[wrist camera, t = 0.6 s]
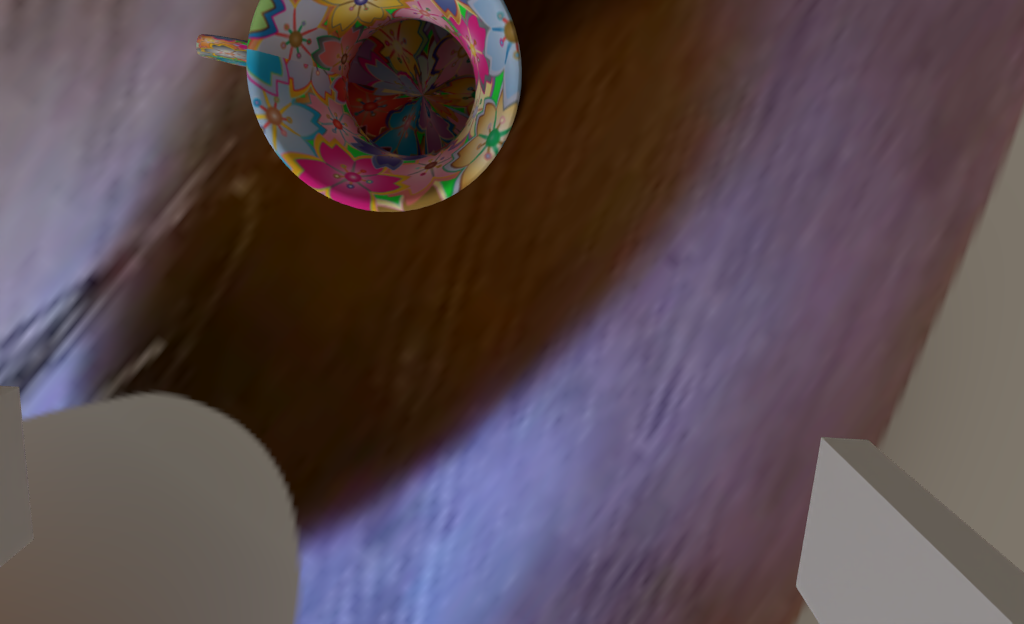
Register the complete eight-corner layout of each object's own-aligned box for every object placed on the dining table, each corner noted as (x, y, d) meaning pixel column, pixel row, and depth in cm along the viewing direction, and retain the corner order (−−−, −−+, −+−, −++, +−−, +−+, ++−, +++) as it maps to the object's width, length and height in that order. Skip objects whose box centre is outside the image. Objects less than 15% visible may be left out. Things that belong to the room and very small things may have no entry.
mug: (536, 10, 34) (544, -51, 23) (503, 208, 36) (497, 232, 25) (280, -36, 34) (173, -119, 23) (261, 167, 36) (155, 174, 25)
